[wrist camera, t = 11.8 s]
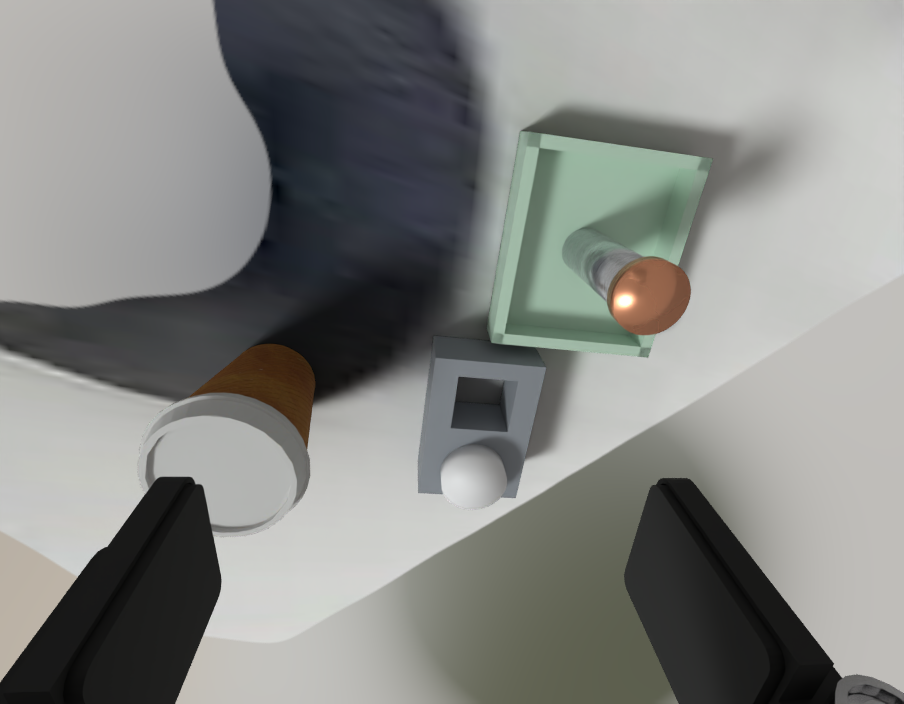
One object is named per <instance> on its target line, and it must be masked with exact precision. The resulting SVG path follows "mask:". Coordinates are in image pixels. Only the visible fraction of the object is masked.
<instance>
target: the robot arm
mask: <svg viewBox="0 0 904 704" xmlns="http://www.w3.org/2000/svg"><path fill="white" fill-rule="evenodd" d="M624 578H625V585H626V589H627V591H628V593H629V596H630V598H631V600H632V602H633V604H634V607H635V609H636V611H637V613H638V615H639V617H640V620H641V622H642V624H643V626H644V628H645V631H646V633H647V635H648V637H649V639H650V642H651V644H652V646H653V648H654V650H655V653H656V655H657V657H658V659H659V661H660V664H661V666H662V668H663V670H664V672H665V674H666V677H667V679H668V681H669V683H670V685H671V688H672V690H673V692H674V694H675V696H676V699H677V701H678V703H679V704H904V693H902V692H901V691H899V690H897V689H896V688H894V687H892V686H891V685H889V684H887V683H885V682H882V681H880V680H877V679H875V678H872V677H868V676H862V675H851V676H845V677H844V678H842V677H841V676H840V675H839V674H838V672H837V671H836V670H835V668H834V667H833V665H834V663H833V662H832V660H831V659H830V658H829V657H828V655H827V654H826V653H825V651H824V650H823V649H822V648H821V646H820V645H819V644H818V642H817V641H816V640H815V639H814V637H813V636H812V635H811V633H810V632H809V631H808V630H807V628H806V627H805V626H804V624H803V623H802V622H801V621H800V619H799V618H798V617H797V615H796V614H795V613H794V612H793V610H792V609H791V608H790V606H789V605H788V604H787V602H786V601H785V600H784V599H783V598H782V596H781V595H780V593H779V592H778V591H777V590H776V588H775V587H774V586H773V584H772V583H771V582H770V581H769V579H768V578H767V577H766V576H765V574H764V573H763V572H762V570H761V569H760V568H759V566H758V565H757V564H756V563H755V561H754V560H753V559H752V557H751V556H750V555H749V554H748V552H747V551H746V550H745V548H744V547H743V546H742V544H741V543H740V542H739V541H738V539H737V538H736V537H735V536H734V534H733V533H732V532H731V530H730V529H729V528H728V526H727V525H726V524H725V523H724V522H723V520H722V519H721V517H720V516H719V515H718V514H717V512H716V511H715V510H714V509H713V507H712V506H711V505H710V504H709V502H708V501H707V499H706V498H705V497H704V496H703V494H702V493H701V492H700V490H699V489H698V488H697V486H696V485H695V484H694V483H693V482H692V481H691V480H690V479H687V478H662V479H660V480H659V481H658V482H657V484H656V485H653V486H652V487H651V488H650V490H649V493H648V496H647V500H646V503H645V506H644V510H643V513H642V516H641V520H640V523H639V526H638V530H637V533H636V536H635V539H634V543H633V546H632V549H631V553H630V556H629V559H628V563H627V566H626V569H625V574H624ZM220 590H221V574H220V569H219V563H218V558H217V553H216V548H215V543H214V538H213V533H212V528H211V523H210V518H209V512H208V507H207V502H206V497H205V492H204V488H203V486H202V485H201V484H195V481H194V479H193V478H192V477H159V478H157V479H156V480H155V482H154V483H153V484H152V486H151V487H150V488H149V490H148V491H147V493H146V494H145V495H144V497H143V498H142V500H141V501H140V502H139V504H138V505H137V506H136V508H135V509H134V511H133V512H132V513H131V515H130V516H129V518H128V519H127V520H126V522H125V523H124V525H123V526H122V527H121V529H120V530H119V531H118V533H117V534H116V536H115V537H114V538H113V540H112V541H111V543H110V544H109V545H108V547H105V548H103V549H101V550H100V551H98V552H97V553H96V554H95V555H94V557H93V558H92V559H91V560H90V561H89V563H88V564H87V565H86V567H85V568H84V570H83V571H82V572H81V574H80V575H79V576H78V578H77V579H76V580H75V582H74V583H73V584H72V586H71V587H70V589H69V590H68V591H67V593H66V594H65V595H64V597H63V598H62V599H61V601H60V602H59V603H58V605H57V607H56V608H55V609H54V610H53V612H52V613H51V614H50V616H49V617H48V618H47V620H46V621H45V623H44V624H43V625H42V627H41V628H40V629H39V631H38V632H37V633H36V635H35V636H34V637H33V639H32V640H31V641H30V643H29V644H28V646H27V647H26V648H25V650H24V651H23V652H22V654H21V655H20V656H19V658H18V659H17V660H16V662H15V663H14V665H13V666H12V667H11V669H10V670H9V671H8V673H7V674H6V675H5V677H4V678H3V680H2V681H1V682H0V704H175V702H176V700H177V697H178V695H179V693H180V690H181V688H182V685H183V683H184V680H185V678H186V676H187V673H188V671H189V668H190V666H191V663H192V661H193V659H194V656H195V653H196V651H197V648H198V646H199V644H200V641H201V639H202V637H203V634H204V632H205V629H206V627H207V624H208V622H209V619H210V617H211V615H212V612H213V610H214V607H215V605H216V602H217V600H218V597H219V594H220Z"/></svg>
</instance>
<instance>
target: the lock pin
mask: <svg viewBox="0 0 904 704" xmlns="http://www.w3.org/2000/svg"><path fill="white" fill-rule="evenodd" d="M562 257H563V260H564V262H565V264H566V265H567V266H568V267H569V268H570V269H571V270H572V271H573V272H574V273H575V274H576V275H577V276H579V277H580V278H581V279H582V280H583V281H584V282H585V283H586V284H587V285H588V286H590V287H591V288H592V289H593V290H594V291H595V292H596V293H597V294H598V295H600V296H601V297H602V298H603V299H604V300H605V301H606V302H607V306H608V309H609V312H610V314H611V316H612V317H613V318H614V319H615V320H616V321H617V322H618V323H619V324H620V325H621V326H622V327H623V328H624V329H626V330H627V331H629V332H631V333H633V334H637V335H653V334H657V333H660V332H662V331H664V330H666V329H668V328H669V327H671V326H672V325H673V324H675V323H676V322H677V321H678V320H679V319H680V317H681V316H682V315H683V313H684V312H685V310H686V308H687V306H688V303H689V300H690V294H691V288H690V282H689V279H688V277H687V275H686V274H685V272H684V271H683V270H682V269H681V268H680V267H678V266H677V265H675V264H673V263H671V262H669V261H667V260H665V259H663V258H660V257H655V256H647V257H643V256H642V255H640V254H638V253H636V252H635V251H633V250H631V249H629V248H628V247H626V246H624V245H622V244H620V243H619V242H617V241H615V240H613V239H612V238H610V237H608V236H606V235H604V234H603V233H601V232H599V231H597V230H595V229H593V228H580V229H578V230H576V231H574V232H573V233H571V234H570V235H569V236H568V237H567V239H566V240H565V242H564V245H563V248H562Z"/></svg>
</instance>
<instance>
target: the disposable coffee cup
mask: <svg viewBox="0 0 904 704" xmlns="http://www.w3.org/2000/svg"><path fill="white" fill-rule="evenodd" d="M314 390H315V377H314V373H313V371H312V368H311V366H310V365H309V363H308V362H307V361H306V360H305V359H304V357H302V356H301V355H300V354H299V353H298V352H296V351H294V350H292V349H290V348H288V347H285V346H282V345H277V344H261V345H256V346H254V347H251V348H249V349H248V350H246V351H245V352H243V353H242V354H241V355H240V356H239V357H237V358H236V359H235V360H234V361H232V362H231V363H230V364H229V365H228V366H226V367H225V368H224V369H223V370H221V371H220V372H219V373H218V374H216V375H215V376H214V377H213V378H212V379H210V380H209V381H208V382H207V383H205V384H204V385H203V386H202V387H200V388H199V389H198V390H197V391H196V392H194V393H193V394H192V395H191V396H190V397H188V398H186V399H183V400H180V401H177V402H175V403H173V404H172V405H170V406H169V407H167V408H165V409H164V410H162V411H161V412H160V413H159V414H158V415H156V416H155V418H154V419H153V420H152V421H151V422H150V423H149V424H148V426H147V428H146V430H145V432H144V434H143V436H142V439H141V444H140V449H139V453H140V456H139V459H138V477H139V481H140V485H141V488H142V490H143V492H144V494H146V493H147V491H148V490H149V488H150V487H151V486H152V484H153V483H154V482H155V480H156V479H157V478H159V477H192V478H193V479H194V481H195V484H201V485H202V486H203V488H204V492H205V497H206V502H207V507H208V512H209V518H210V523H211V528H212V533H213V536H215V537H237V536H247V535H251V534H255V533H258V532H261V531H263V530H266V529H268V528H270V527H271V526H273V525H274V524H275V523H277V522H278V521H280V520H281V519H282V518H283V517H284V516H285V515H286V514H287V513H288V512H289V511H290V510H291V509H293V508H294V507H295V506H296V505H297V503H298V502H299V501H300V500H301V499H302V497H303V495H304V493H305V491H306V489H307V486H308V482H309V478H310V459H309V455H308V452H307V446H308V438H309V430H310V422H311V413H312V405H313V397H314Z"/></svg>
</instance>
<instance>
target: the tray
mask: <svg viewBox="0 0 904 704" xmlns="http://www.w3.org/2000/svg"><path fill="white" fill-rule="evenodd" d="M712 161H713V159H712V158H705V157H698V156H692V155H685V154H678V153H671V152H664V151H657V150H651V149H644V148H637V147H630V146H623V145H617V144H610V143H603V142H596V141H589V140H582V139H576V138H569V137H562V136H555V135H548V134H542V133H535V132H523V131H520V135H519V141H518V147H517V153H516V158H515V164H514V170H513V176H512V182H511V188H510V193H509V199H508V205H507V211H506V217H505V223H504V228H503V234H502V240H501V246H500V252H499V257H498V263H497V269H496V275H495V281H494V287H493V292H492V298H491V304H490V310H489V316H488V322H487V327H486V329H487V332H488V335H489V337H490V340H491V343H496V344H507V345H518V346H529V347H540V348H551V349H561V350H572V351H583V352H594V353H605V354H616V355H627V356H637V357H648V356H649V353H650V350H651V347H652V344H653V341H654V338H655V335H656V334H653V335H637V334H633V333H631V332H629V331H627V330H626V329H624V328H623V327H622V326H621V325H620V324H619V323H618V322H617V321H616V320H615V319H614V318H613V317H612V316H611V314H610V312H609V309H608V306H607V302H606V301H605V300H604V299H603V298H602V297H601V296H600V295H598V294H597V293H596V292H595V291H594V290H593V289H592V288H591V287H590V286H588V285H587V284H586V283H585V282H584V281H583V280H582V279H581V278H580V277H579V276H577V275H576V274H575V273H574V272H573V271H572V270H571V269H570V268H569V267H568V266H567V265H566V264H565V262H564V260H563V257H562V248H563V245H564V242H565V240H566V239H567V237H568V236H569V235H570V234H571V233H573V232H574V231H576V230H578V229H580V228H593V229H595V230H597V231H599V232H601V233H603V234H604V235H606V236H608V237H610V238H612V239H613V240H615V241H617V242H619V243H620V244H622V245H624V246H626V247H628V248H629V249H631V250H633V251H635V252H636V253H638V254H640V255H642V256H643V257H647V256H655V257H660V258H663V259H665V260H667V261H669V262H671V263H673V264H675V265H677V266H678V265H679V261H680V258H681V255H682V252H683V249H684V246H685V243H686V240H687V237H688V234H689V231H690V228H691V225H692V222H693V219H694V216H695V213H696V210H697V207H698V204H699V200H700V197H701V194H702V191H703V188H704V185H705V182H706V179H707V176H708V173H709V170H710V167H711V164H712Z"/></svg>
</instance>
